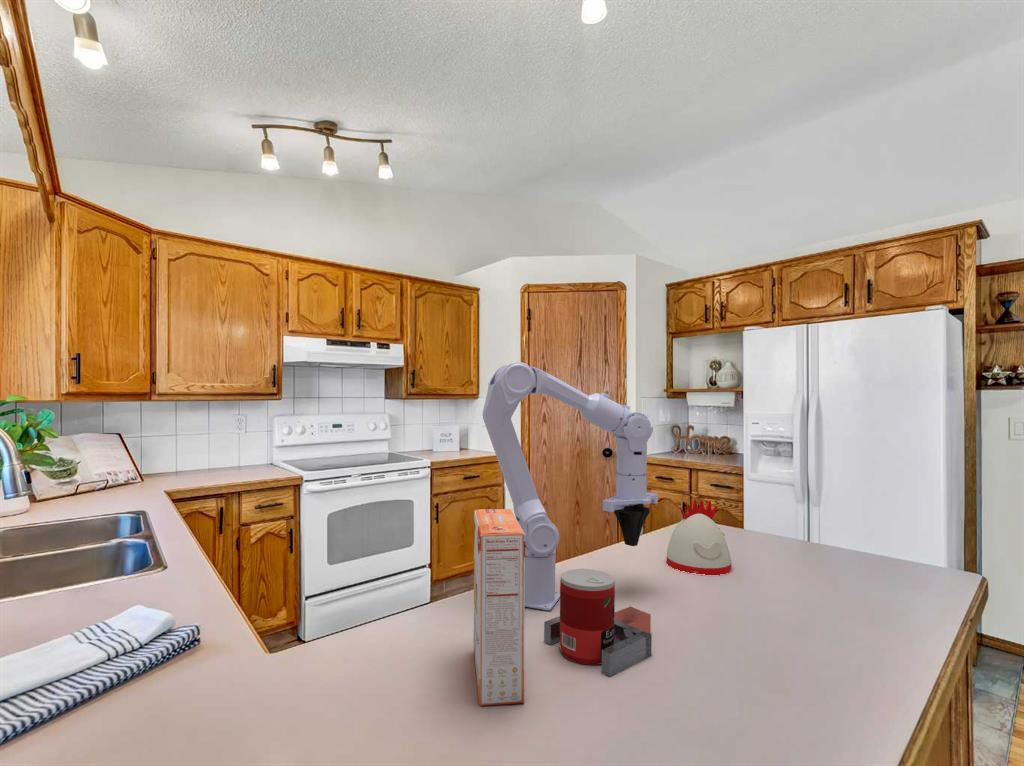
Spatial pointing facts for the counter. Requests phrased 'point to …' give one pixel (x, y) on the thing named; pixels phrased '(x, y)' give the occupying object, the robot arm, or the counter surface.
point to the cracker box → (499, 606)
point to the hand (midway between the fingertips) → (631, 544)
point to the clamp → (617, 639)
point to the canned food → (586, 614)
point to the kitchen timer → (699, 543)
